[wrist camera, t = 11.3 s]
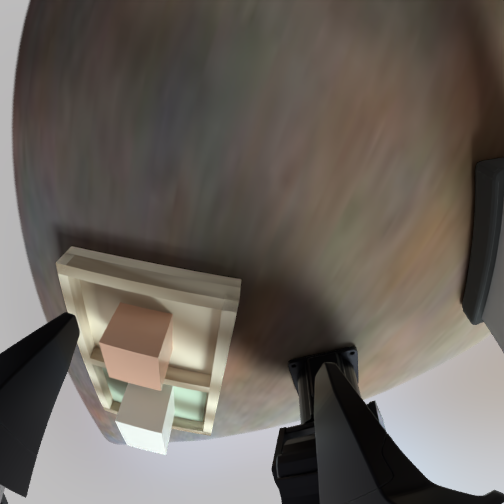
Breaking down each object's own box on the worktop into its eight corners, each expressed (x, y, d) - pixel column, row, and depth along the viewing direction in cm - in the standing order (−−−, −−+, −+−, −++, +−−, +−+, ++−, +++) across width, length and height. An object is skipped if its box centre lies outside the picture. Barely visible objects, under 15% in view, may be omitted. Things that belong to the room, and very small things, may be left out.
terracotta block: (172, 349, 24) (161, 390, 20) (125, 338, 24) (109, 377, 20) (172, 314, 22) (158, 357, 18) (120, 302, 22) (98, 342, 18)
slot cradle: (212, 419, 33) (210, 435, 31) (109, 395, 32) (104, 410, 30) (241, 279, 21) (239, 301, 19) (71, 246, 20) (55, 262, 18)
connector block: (173, 382, 27) (161, 433, 21) (174, 412, 30) (166, 455, 25) (131, 372, 26) (115, 420, 21) (139, 403, 30) (127, 445, 25)
